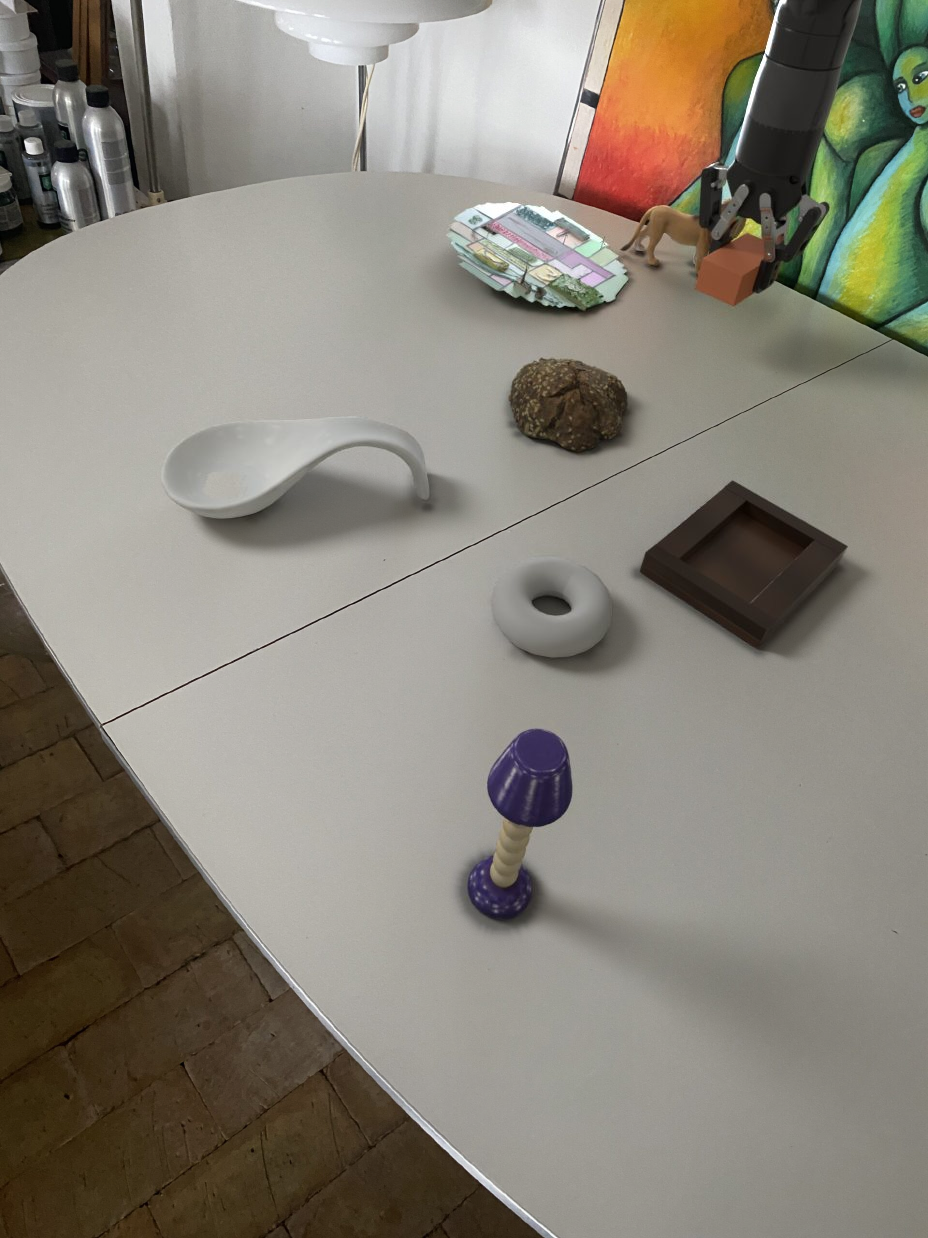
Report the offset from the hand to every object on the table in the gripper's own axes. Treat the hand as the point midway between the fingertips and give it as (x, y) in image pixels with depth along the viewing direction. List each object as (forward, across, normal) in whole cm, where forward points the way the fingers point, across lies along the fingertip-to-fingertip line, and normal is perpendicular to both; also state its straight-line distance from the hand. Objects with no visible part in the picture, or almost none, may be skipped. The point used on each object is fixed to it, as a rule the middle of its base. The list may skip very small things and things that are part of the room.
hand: (736, 279), depth 96 cm
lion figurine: (+8, +14, -13) cm, 21 cm away
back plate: (+8, -22, +30) cm, 38 cm away
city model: (+8, +25, +3) cm, 27 cm away
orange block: (0, 0, 0) cm, 0 cm away
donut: (+8, -14, +47) cm, 50 cm away
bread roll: (+8, +3, +24) cm, 26 cm away
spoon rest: (+8, +12, +52) cm, 54 cm away
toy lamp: (+8, -26, +67) cm, 73 cm away
